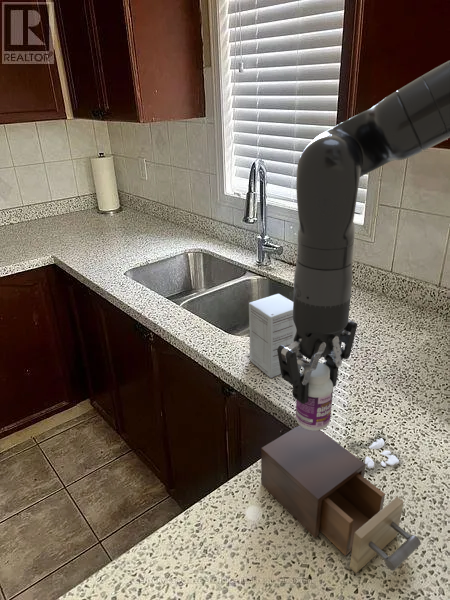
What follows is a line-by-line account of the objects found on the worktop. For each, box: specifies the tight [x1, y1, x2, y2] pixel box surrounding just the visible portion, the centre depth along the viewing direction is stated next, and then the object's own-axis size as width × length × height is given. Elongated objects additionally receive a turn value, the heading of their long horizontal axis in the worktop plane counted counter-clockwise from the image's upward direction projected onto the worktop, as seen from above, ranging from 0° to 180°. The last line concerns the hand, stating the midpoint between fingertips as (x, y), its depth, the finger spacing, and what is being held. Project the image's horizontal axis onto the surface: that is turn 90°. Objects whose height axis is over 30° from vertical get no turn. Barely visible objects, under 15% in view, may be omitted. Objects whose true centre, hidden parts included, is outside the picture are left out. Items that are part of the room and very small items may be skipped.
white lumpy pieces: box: [364, 437, 400, 469], centre depth 83 cm, size 8×7×2 cm
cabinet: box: [260, 424, 367, 538], centre depth 74 cm, size 13×11×10 cm
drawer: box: [319, 473, 422, 574], centre depth 67 cm, size 16×10×8 cm, turn 36°
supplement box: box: [248, 293, 297, 379], centre depth 109 cm, size 10×9×17 cm
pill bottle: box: [295, 361, 334, 431], centre depth 68 cm, size 5×5×10 cm
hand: (315, 392), depth 67 cm, fingers closed on pill bottle, 5 cm apart
